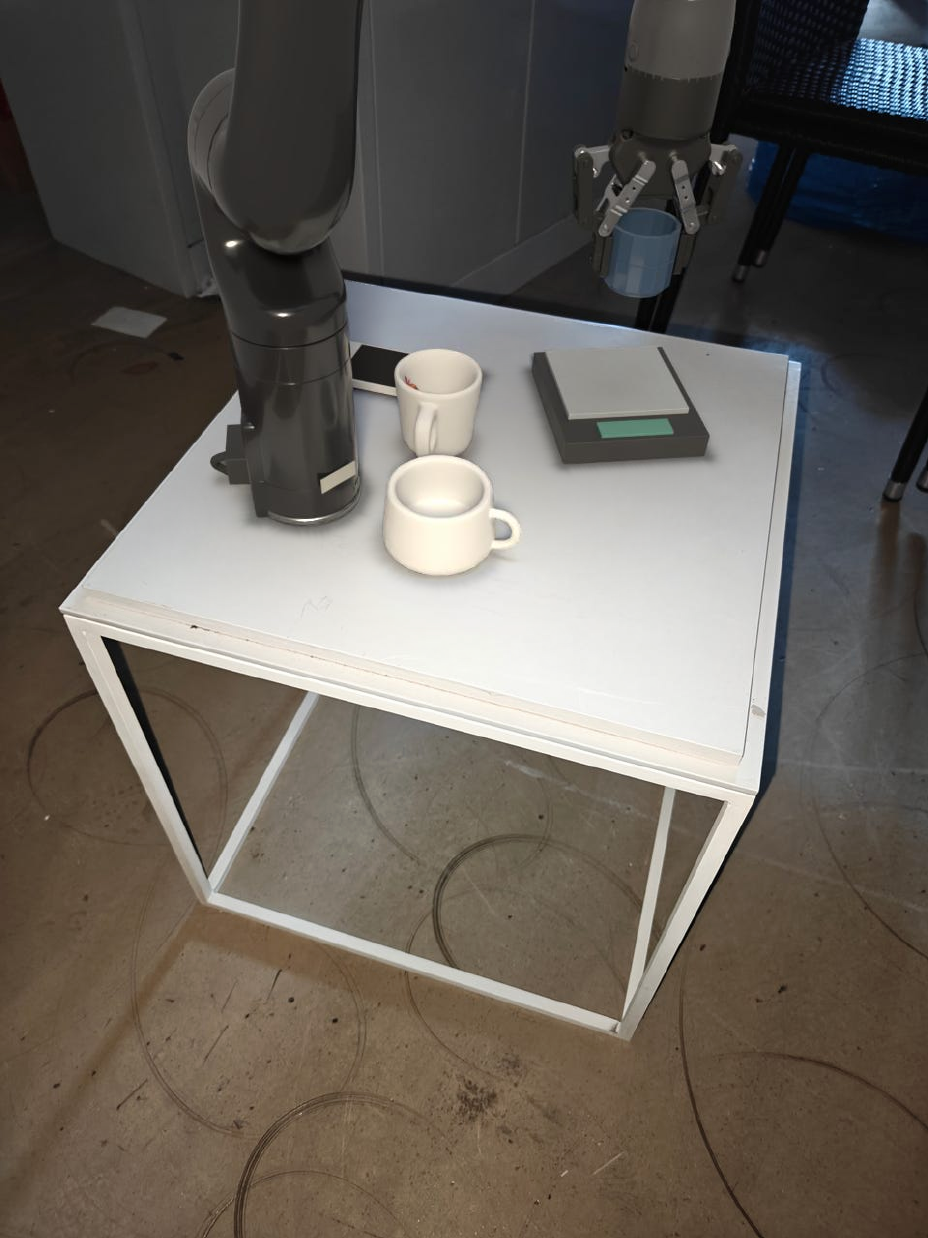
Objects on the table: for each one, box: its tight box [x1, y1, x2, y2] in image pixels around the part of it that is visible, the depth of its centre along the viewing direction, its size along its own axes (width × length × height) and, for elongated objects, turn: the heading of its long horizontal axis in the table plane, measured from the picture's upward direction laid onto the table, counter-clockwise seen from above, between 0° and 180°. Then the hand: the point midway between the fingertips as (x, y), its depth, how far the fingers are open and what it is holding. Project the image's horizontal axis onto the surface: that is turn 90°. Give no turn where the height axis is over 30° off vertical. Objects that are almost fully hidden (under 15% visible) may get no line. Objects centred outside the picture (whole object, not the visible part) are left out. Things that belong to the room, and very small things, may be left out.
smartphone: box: [350, 340, 413, 397], centre depth 93 cm, size 7×16×1 cm, turn 73°
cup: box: [394, 348, 483, 458], centre depth 82 cm, size 11×8×8 cm
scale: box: [531, 345, 711, 465], centre depth 90 cm, size 14×16×3 cm
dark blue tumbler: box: [602, 206, 682, 299], centre depth 78 cm, size 6×6×6 cm
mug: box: [382, 455, 522, 577], centre depth 75 cm, size 12×10×6 cm
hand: (636, 270), depth 79 cm, fingers closed on dark blue tumbler, 6 cm apart
